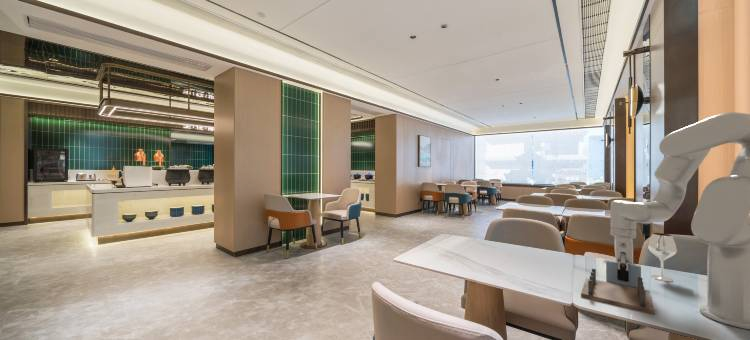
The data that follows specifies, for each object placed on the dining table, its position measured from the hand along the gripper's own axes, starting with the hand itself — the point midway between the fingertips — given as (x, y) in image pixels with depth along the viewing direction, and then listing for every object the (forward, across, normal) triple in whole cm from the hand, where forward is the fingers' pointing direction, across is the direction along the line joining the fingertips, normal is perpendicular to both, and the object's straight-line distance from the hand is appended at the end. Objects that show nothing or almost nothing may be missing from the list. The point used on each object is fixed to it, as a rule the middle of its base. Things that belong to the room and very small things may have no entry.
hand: (622, 277), depth 109 cm
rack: (+2, -16, +2) cm, 16 cm away
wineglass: (+3, +18, -12) cm, 22 cm away
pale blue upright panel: (+2, 0, 0) cm, 2 cm away
